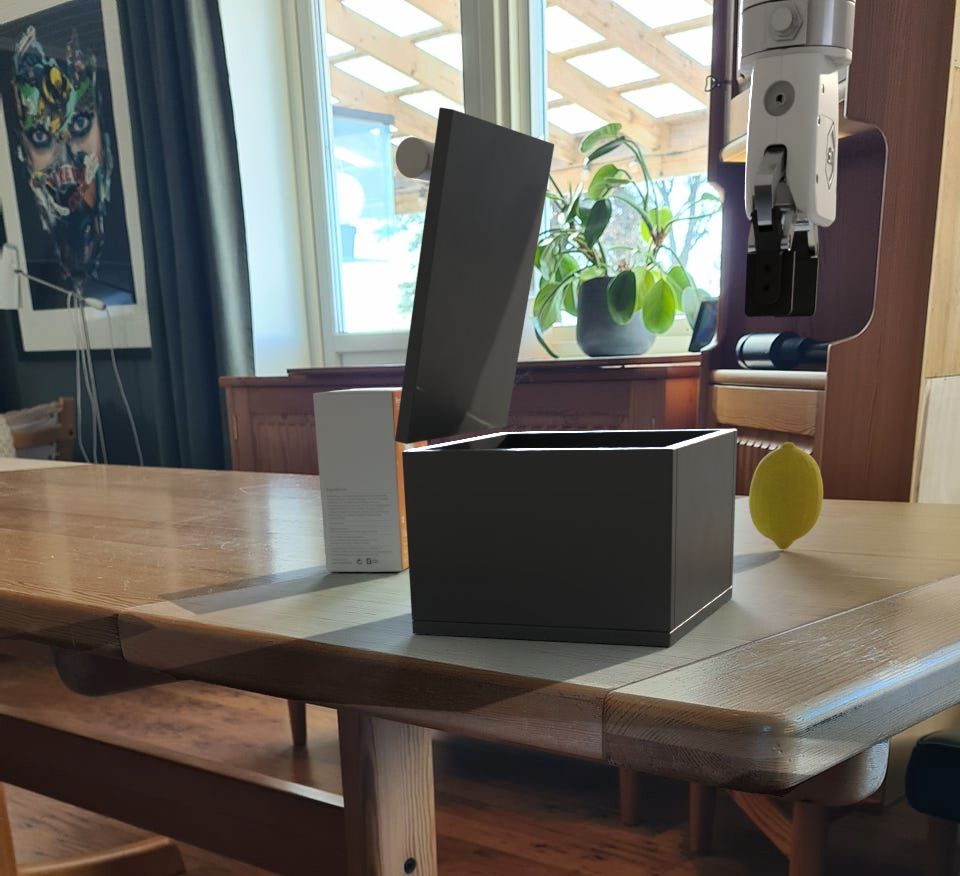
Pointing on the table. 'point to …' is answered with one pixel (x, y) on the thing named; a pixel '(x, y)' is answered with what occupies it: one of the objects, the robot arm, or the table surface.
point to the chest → (571, 534)
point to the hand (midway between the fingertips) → (781, 316)
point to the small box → (362, 479)
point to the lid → (470, 273)
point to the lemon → (786, 495)
